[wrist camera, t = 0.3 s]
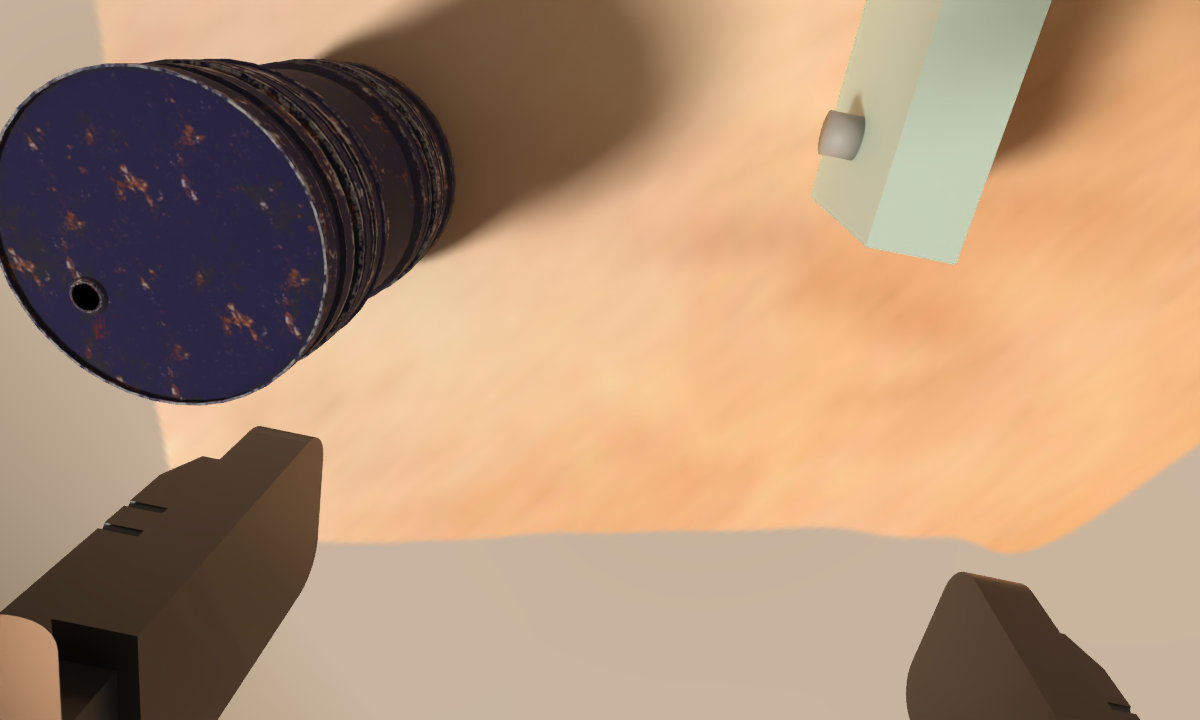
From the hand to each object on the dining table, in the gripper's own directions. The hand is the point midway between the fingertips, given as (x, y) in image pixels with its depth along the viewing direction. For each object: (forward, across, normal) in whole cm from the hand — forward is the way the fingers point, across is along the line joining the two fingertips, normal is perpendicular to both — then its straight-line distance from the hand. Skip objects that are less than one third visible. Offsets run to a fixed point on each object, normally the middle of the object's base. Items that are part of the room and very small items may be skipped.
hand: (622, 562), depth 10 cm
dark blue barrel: (+27, +13, +2) cm, 31 cm away
